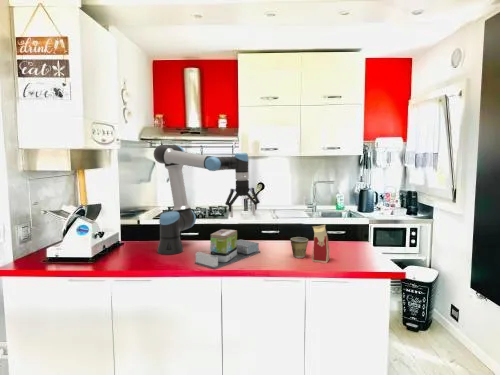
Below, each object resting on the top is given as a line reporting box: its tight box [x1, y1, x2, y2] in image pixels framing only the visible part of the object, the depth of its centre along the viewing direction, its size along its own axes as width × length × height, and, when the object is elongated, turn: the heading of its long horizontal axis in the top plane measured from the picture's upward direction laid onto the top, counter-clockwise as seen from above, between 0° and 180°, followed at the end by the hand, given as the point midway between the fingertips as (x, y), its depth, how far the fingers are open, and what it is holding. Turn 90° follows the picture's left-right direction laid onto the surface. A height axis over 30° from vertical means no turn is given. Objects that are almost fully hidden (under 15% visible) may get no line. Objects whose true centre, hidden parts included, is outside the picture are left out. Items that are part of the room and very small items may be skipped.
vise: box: [194, 250, 261, 270], centre depth 197 cm, size 15×38×6 cm, turn 141°
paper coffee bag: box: [311, 224, 330, 264], centre depth 192 cm, size 9×9×20 cm
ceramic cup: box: [290, 236, 309, 259], centre depth 201 cm, size 13×10×10 cm
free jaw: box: [237, 239, 260, 254], centre depth 207 cm, size 14×10×4 cm
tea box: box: [209, 228, 238, 262], centre depth 193 cm, size 15×10×15 cm
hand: (242, 216), depth 204 cm, fingers open, 13 cm apart
